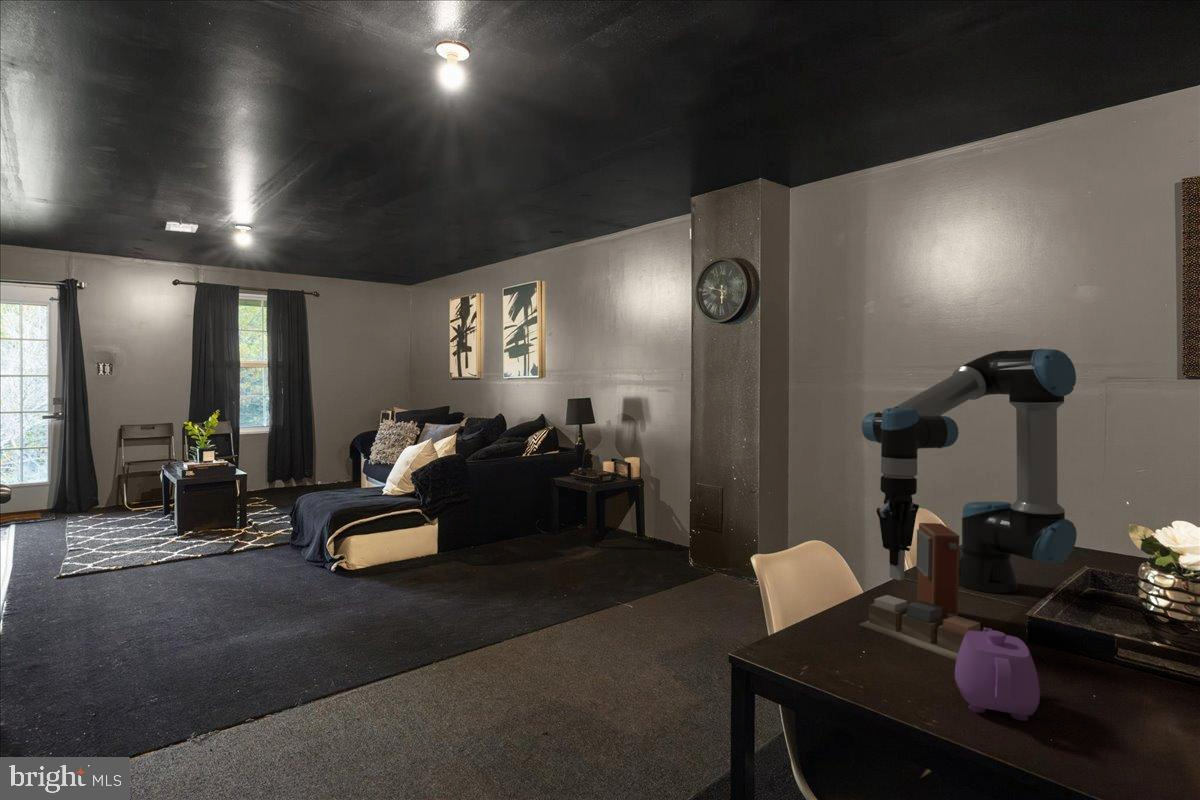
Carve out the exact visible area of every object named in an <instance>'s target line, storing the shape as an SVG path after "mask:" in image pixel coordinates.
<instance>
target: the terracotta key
mask: <svg viewBox="0 0 1200 800" xmlns="http://www.w3.org/2000/svg"><path fill="white" fill-rule="evenodd" d="M943 628H945V629H948V630H951V631H954V632H957V633H960V634H963V635H965V634H966V632H968V631H980V629H981V622H978V621H975V620H972V619H968V618H967V617H962V616H959V615H958V616H953V617H951V618H948V619H945V620H943Z"/></svg>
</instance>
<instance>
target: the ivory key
mask: <svg viewBox="0 0 1200 800" xmlns="http://www.w3.org/2000/svg"><path fill="white" fill-rule="evenodd" d="M873 604H874V606H877V607H880V608H883V609H886V610H889V611H892V612H898V611H901V610H904V609H907V605H908V600H905V599H903V598H902V599H901V598H898V597H894V595H893V596H892V595H888V594H886V595H881V596H880V597H876V598H874V602H873Z"/></svg>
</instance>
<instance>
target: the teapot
mask: <svg viewBox="0 0 1200 800" xmlns="http://www.w3.org/2000/svg"><path fill="white" fill-rule="evenodd" d="M983 630H984V632H981V631H968V632H966V634H965V636H964V638H963V641H962V644H961V646H960V649H959V652H958V656H957V660H955V666H954V667H955V668H954V679H955V683H956V685H957V688H958V690H959V691H960V692H959V693H960V694H961V696H962V698H963V699H964V700H965V701H966V703H968V704H969V705H968V710H970V711H973V712H975V713H979V714H983V713H985V712H986V710H991V711H997V712H1002V713H1008V714H1010V715H1009V716H1010V717H1011V718H1013V719H1015V720H1017V721H1022V722H1028V720H1029V717H1028V716H1032V715H1033V714H1034V713H1035V712H1036V711H1037V709H1038V707H1039V705H1040V700H1041V699H1040V698H1041V696H1040V694H1041V692H1040V691H1041V690H1040V684H1039V683H1040V682H1039V677H1038V672H1037V668H1036V665H1035V662H1034V660H1033V656H1032V654H1031V651H1030V649H1029V647H1028V646H1027V645H1026V644H1025V642H1024V641H1023V640H1022V639H1020V638H1019V637H1017V636H1012V635H1007V634H1006V633H1004V632H1002V631H999V630H993V629H992V628H990V627H983Z"/></svg>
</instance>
